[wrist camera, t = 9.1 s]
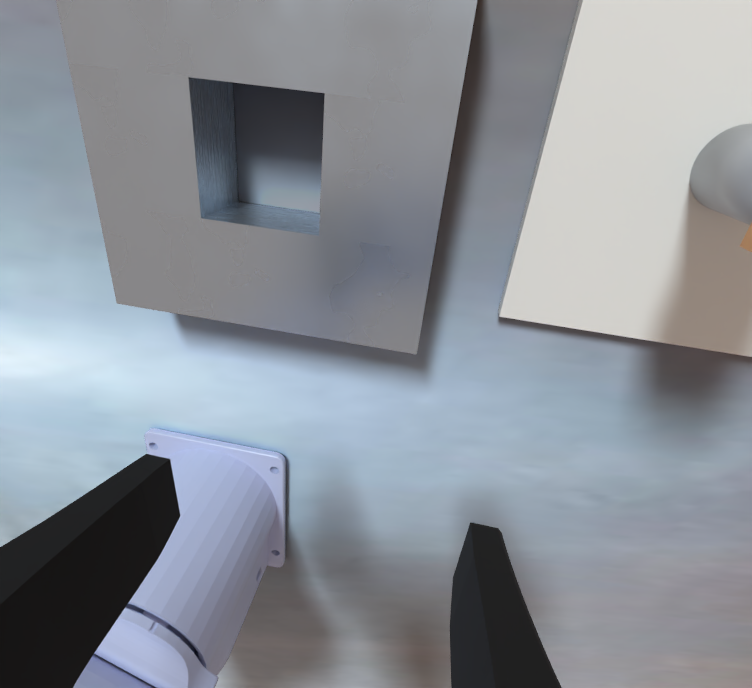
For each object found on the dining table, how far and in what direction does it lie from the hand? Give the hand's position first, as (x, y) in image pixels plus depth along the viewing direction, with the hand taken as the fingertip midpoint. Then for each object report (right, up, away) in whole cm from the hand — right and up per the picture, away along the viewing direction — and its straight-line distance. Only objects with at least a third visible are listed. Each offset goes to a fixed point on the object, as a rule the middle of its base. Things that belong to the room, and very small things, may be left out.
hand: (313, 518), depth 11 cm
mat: (+13, +10, +4) cm, 17 cm away
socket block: (-2, +11, +6) cm, 13 cm away
